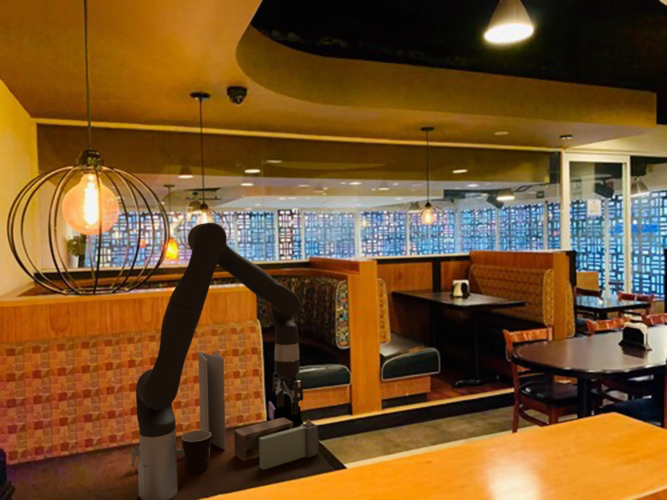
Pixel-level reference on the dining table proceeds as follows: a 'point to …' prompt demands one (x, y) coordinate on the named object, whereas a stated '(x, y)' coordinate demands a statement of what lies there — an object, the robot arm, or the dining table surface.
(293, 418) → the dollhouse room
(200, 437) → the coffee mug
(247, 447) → the cabinet
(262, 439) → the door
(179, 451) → the caliper
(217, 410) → the brochure
